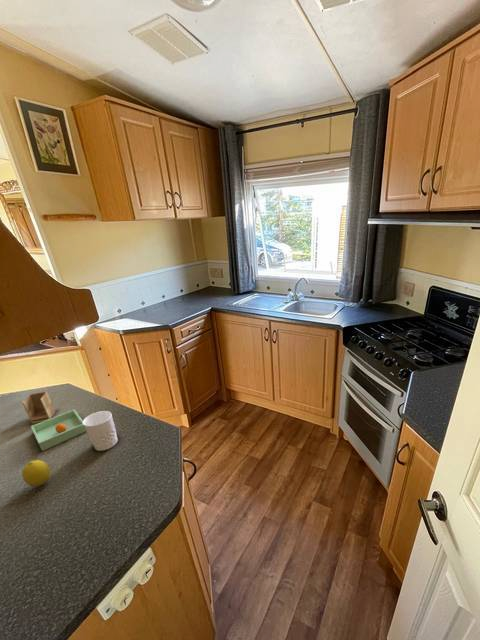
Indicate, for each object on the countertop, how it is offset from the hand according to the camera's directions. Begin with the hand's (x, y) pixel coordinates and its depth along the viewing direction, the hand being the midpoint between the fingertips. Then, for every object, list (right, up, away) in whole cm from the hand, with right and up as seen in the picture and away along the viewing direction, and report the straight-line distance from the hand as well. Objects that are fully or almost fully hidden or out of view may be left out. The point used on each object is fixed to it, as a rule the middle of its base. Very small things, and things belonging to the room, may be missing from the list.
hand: (28, 343), depth 107 cm
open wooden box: (+5, -28, +1) cm, 28 cm away
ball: (+18, -30, -9) cm, 36 cm away
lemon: (+27, -40, -28) cm, 56 cm away
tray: (+17, -31, -7) cm, 36 cm away
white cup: (+37, -33, -14) cm, 52 cm away
